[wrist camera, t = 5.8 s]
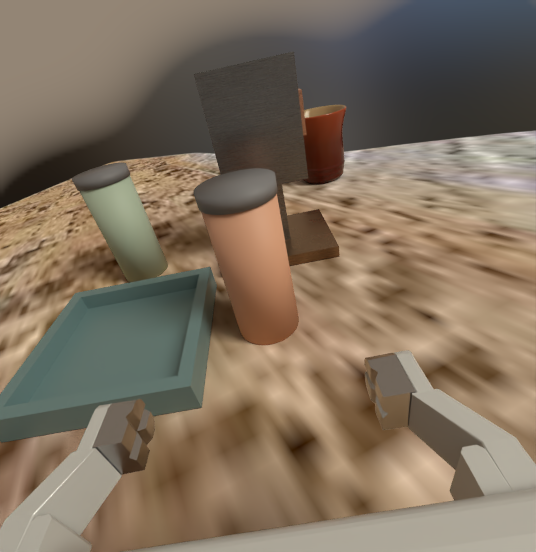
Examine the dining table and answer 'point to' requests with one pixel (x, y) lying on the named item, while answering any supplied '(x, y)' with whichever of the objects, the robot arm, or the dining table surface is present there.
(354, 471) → the dining table surface
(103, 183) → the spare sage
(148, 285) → the tray
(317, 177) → the mug
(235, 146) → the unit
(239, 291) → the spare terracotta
